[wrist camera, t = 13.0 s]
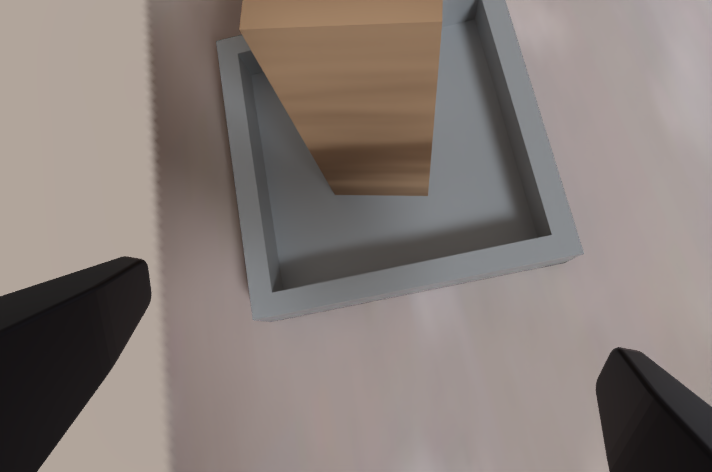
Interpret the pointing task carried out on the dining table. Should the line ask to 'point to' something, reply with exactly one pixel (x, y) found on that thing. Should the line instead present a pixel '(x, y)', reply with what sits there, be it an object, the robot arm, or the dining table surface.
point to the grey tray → (400, 213)
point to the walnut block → (355, 85)
